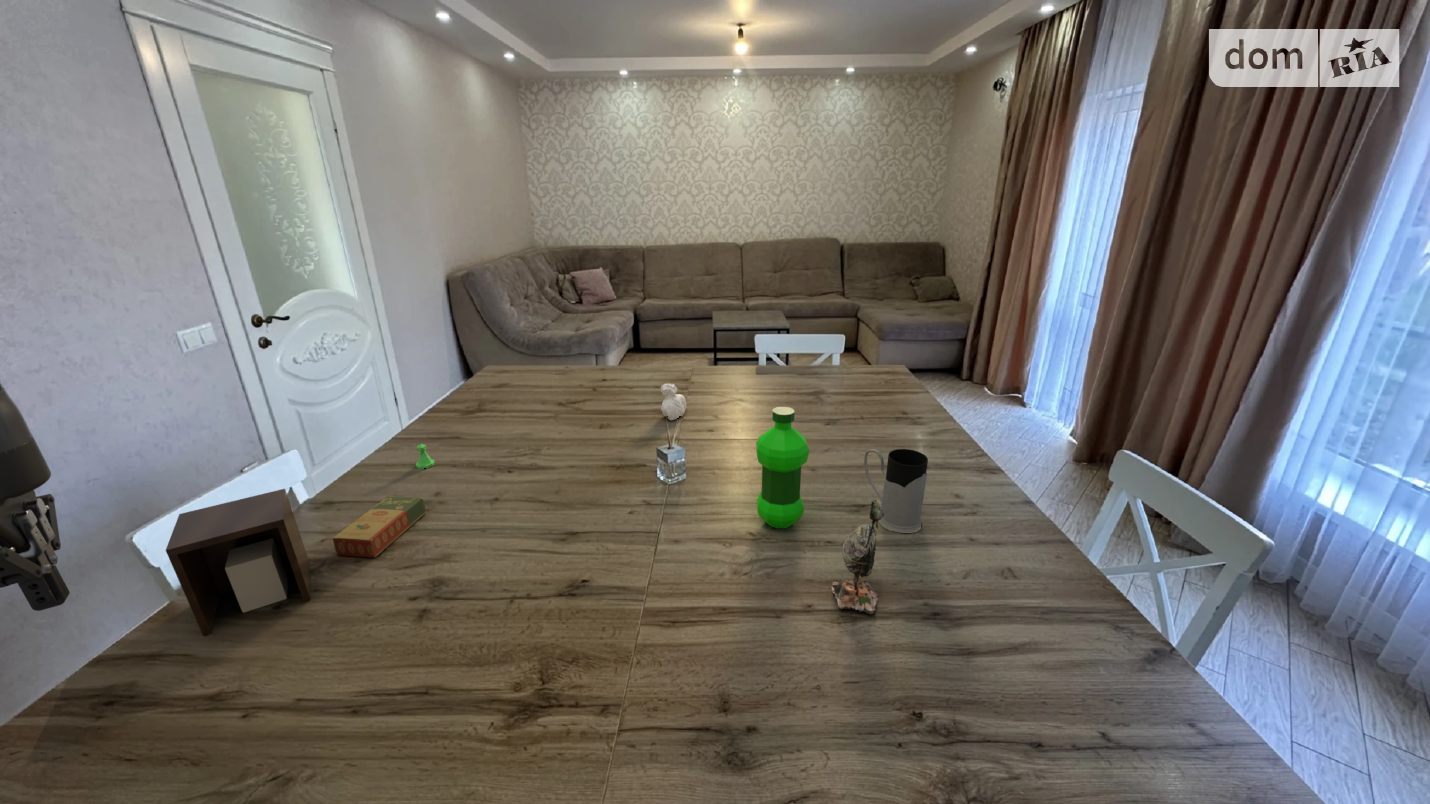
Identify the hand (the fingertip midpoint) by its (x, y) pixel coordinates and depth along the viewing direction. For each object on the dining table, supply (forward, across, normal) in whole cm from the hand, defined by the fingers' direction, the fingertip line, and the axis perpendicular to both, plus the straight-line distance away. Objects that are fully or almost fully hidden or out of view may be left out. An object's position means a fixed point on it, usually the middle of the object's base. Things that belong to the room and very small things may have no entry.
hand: (52, 603), depth 55 cm
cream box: (+27, -34, +9) cm, 44 cm away
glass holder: (+27, +13, +116) cm, 120 cm away
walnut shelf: (+27, -34, +8) cm, 44 cm away
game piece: (+27, -71, +40) cm, 86 cm away
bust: (+27, -62, +108) cm, 127 cm away
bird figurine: (+27, +25, +92) cm, 99 cm away
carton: (+27, -43, +28) cm, 58 cm away
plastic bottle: (+27, +1, +96) cm, 100 cm away
